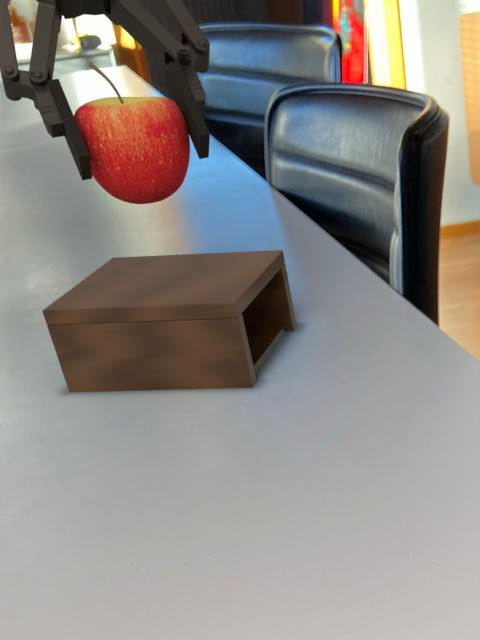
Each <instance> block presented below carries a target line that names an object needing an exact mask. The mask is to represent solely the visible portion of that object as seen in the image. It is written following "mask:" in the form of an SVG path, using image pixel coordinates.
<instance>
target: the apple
mask: <svg viewBox="0 0 480 640" xmlns="http://www.w3.org/2000/svg"><path fill="white" fill-rule="evenodd" d="M88 66H89V67H90V68H91V69H93V70H94V71H95V72H96V73H98V74H99V75H100V76H101V77H103V78H104V79H105V80H106V82H108V83H109V85H110V86H111V88H112V89H113V91H114V92H115V94H116V96H111V97H110V96H109V97H101V98H97V99H94V100H90V101H88V102H85V103H84V104H81V105H80V106H79V107H78V108H77V109H76V110H75V111H74V113H73V116H74V118H75V121H76V123H77V125H78V128H79V130H80V133H81V135H82V138H83V140H84V143H85V145H86V147H87V150H88V152H89V155H90V163H91V172H92V178H93V179H94V180H95V181H96V182H97V184H98V185H99V186H100V187H101V188H102V189H103V190H104V192H106V193H108V194H109V195H110V196H112V197H113V198H115V199H117V200H119V201H121V202H124V203H128V204H134V205H147V204H154V203H158V202H163V201H164V200H166V199H168V198H170V197H171V196H173V195H174V194H175V193H176V192H177V191H178V190H179V189H180V188H181V187H182V185H183V184H184V182H185V179H186V176H187V173H188V169H189V165H190V159H191V158H190V156H191V138H190V135H189V132H188V128H187V124H186V121H185V119H184V116H183V114H182V112H181V110H180V108H179V107H178V106H177V104H176V102H175V100H172V99H171V98H168V97H164V96H121V94H120V93H119V90H118V89H117V87H116V86H115V84H114V83H113V82H112V81H111V79H110V78H109V77H108V76H107V75H106V74H105V73H104V72H103V71H102V70H101V69H99V67H97V66H96V65H95V64H94V63H93V62H91V61H90V62H89V63H88Z"/></svg>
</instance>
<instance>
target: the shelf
mask: <svg viewBox="0 0 480 640" xmlns="http://www.w3.org/2000/svg"><path fill="white" fill-rule="evenodd" d="M42 314H43V318H44V320H45V323H46V328H47V330H48V333H49V336H50V339H51V342H52V344H53V348H54V350H55V353H56V357H57V360H58V363H59V366H60V368H61V369H60V370H61V371H62V374H63V377H64V381H65V384H66V387H67V390H68V393H95V392H97V393H99V392H136V391H140V392H141V391H174V390H175V391H177V390H210V389H211V390H213V389H215V390H216V389H250V388H251V389H252V388H254V387H255V386H256V384H257V383H258V380H257V377H256V375H257V373H258V372H259V370H260V369H261V368H262V367H263V366H264V364H265V362H266V361H267V360H268V358H269V357H270V356H271V354H272V353H273V352H274V350H275V349H277V348H276V347H277V346H278V345H279V344H280V343H281V341H282V339H283V338H284V337H285V335H286V334H287V333H288V332H294V331H295V330H296V329H297V328H298V326H297V320H296V314H295V309H294V304H293V298H292V293H291V288H290V283H289V277H288V271H287V266H286V260H285V255H284V251H283V249H277V250H276V249H275V250H252V251H250V250H249V251H233V252H231V251H230V252H210V253H209V252H208V253H188V254H187V253H185V254H164V255H162V254H161V255H141V256H121V257H120V256H119V257H112V258H110V259H108V260H107V261H106V262H105V263H104V264H102V265H101V266H100V267H98V268H97V269H96V270H94V271H93V272H92V273H90V274H89V275H87V276H86V277H84V279H82V280H81V281H79V283H77V284H76V285H74V286H73V287H72V288H71V289H69V290H68V291H66V292H65V293H64V294H62V295H61V296H60V297H58V298H57V299H55V301H53V302H52V303H50V304H49V305H47V306H46V307H45V308H43V309H42Z"/></svg>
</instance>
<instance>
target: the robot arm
mask: <svg viewBox="0 0 480 640" xmlns="http://www.w3.org/2000/svg"><path fill="white" fill-rule="evenodd" d="M11 1H12V0H0V75H1V81H2V85H3V90H4V94H5V97H6V98H7V99H8V100H10V101H13V102H19V101H20V100H22V99H23V98H24V99H28V100H30V101H33V105H34V108H35V109H36V110H37V111H38V112H39V114H40V115H39V116H40V118H41V120H42V122H43V124H44V127H45V129H46V133H48V135H49V136H50V137H51V138H52V139H55V138H60V137H64V139H65V141H66V144H67V146H68V149H69V151H70V154H71V156H72V158H73V161H74V163H75V167H76V169H77V171H78V174H79V176H80V179H81V180H82V181H87V180H93V176H92V172H91V163H90V155H89V152H88V150H87V147H86V145H85V143H84V140H83V138H82V135H81V133H80V130H79V128H78V125H77V123H76V121H75V118H74V113H73V111H72V108H71V106H70V104H69V103H70V102H69V101H68V99H67V96H66V94H65V90H64V89H63V87H62V83H61V82H60V79H59V78H54V72H55V64H56V55H57V50H58V49H57V47H58V41H59V34H61V29H62V20H63V18H64V20H69V19H70V20H71V19H76V18H79V17H81V16H84V15H87V16H101V15H104V16H105V17H106V18H107V19H108V20H109V21H110V22H111V23H112V24H113V25H115V26H116V27H117V26H120V27H121V28H122V29H123V30H124V31H125V32H126V33H127V34H128V35H129V36H130V37H132V38H133V39H134V40H135V42H136V43H138V44H139V45H140V47H142V48H143V49H144V50H145V51H146V52H147V53H148V54H149V55H150V56H151V57H152V58H153V59H154V60H155V61H156V62H157V63H158V64H159V65H160V66H161V67H162V68H163V69H164V70H165V71H167V73H168V74H169V78H168V79H169V80H168V81H169V82H168V83H169V90H170V92H171V95H172V97H173V101H174V102H175V103H176V104H177V106H178V107H179V108H180V110H181V112H182V114H183V116H184V119H185V121H186V124H187V128H188V132H189V139H190V141H191V143H192V146H193V147H194V149H195V152H196V154H197V156H198V159H199V160H202V159H207V158H209V157H210V138H211V135H210V134H211V133H210V131H209V129H208V126H207V123H206V121H205V119H204V117H203V115H202V114H205V113H206V94H207V93H206V91H205V90H204V87H203V85H202V82H201V80H200V78H199V75H198V73H200V74H205V73H207V72H208V71H209V69H210V53H211V51H210V50H211V49H210V47H211V43H210V41H209V39H208V38H207V37H206V34H205V33H204V32H203V30H202V29H201V28H200V25H198V23H197V21H196V19H194V17H193V15H192V14H191V13H190V11H189V10H188V8H187V7H186V5H185V3H184V2H183V0H148V1H149V2H150V4H151V6H152V7H153V9H154V10H155V12H156V13H157V15H158V16H159V18H160V19H161V21H162V23H163V24H162V23H161V22H160V21H159V20H158V19H157V18H156V17H155V16H154V15H153V14H152V13H151V12H150V11H149V10H148V9H147V8H146V7H145V6H144V5H143V4H142V3H141V2H139V0H35V1H36V2H37V9H36V17H35V25H34V31H33V38H32V45H31V46H32V47H31V52H30V53H31V54H30V60H29V67H28V70H22V69H19V63H18V58H17V52H16V45H15V39H14V33H13V28H12V27H13V26H12V21H11V20H12V19H11V15H10V10H9V6H10V5H11ZM164 25H165V26H164Z"/></svg>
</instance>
